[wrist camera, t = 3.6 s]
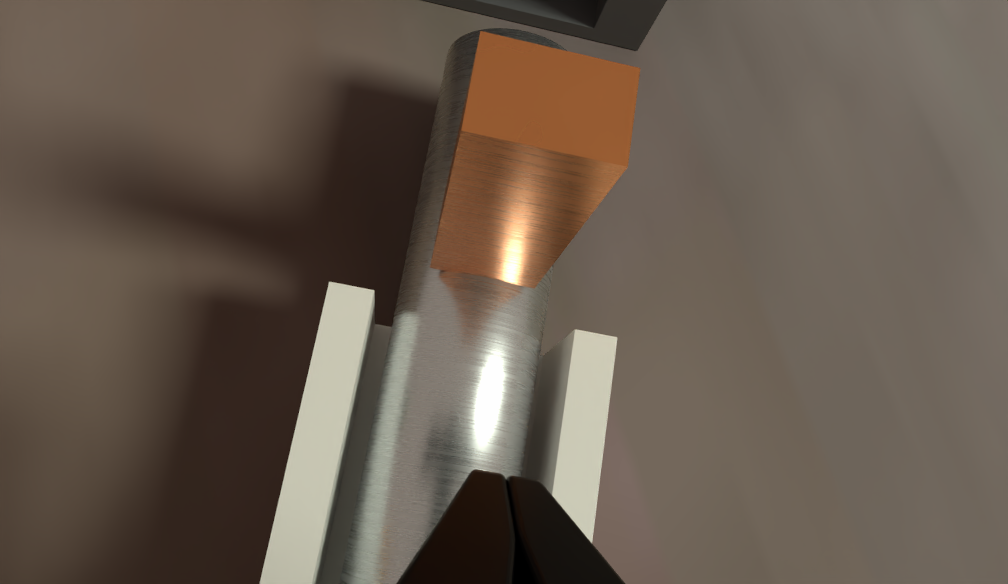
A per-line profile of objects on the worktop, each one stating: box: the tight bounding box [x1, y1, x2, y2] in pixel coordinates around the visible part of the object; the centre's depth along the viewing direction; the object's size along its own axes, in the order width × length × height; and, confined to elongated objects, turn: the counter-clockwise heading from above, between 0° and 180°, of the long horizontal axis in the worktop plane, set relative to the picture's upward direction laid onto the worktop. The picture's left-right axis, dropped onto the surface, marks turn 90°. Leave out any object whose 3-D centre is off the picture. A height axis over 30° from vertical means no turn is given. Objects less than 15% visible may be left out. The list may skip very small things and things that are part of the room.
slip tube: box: [339, 28, 640, 584], centre depth 15 cm, size 16×4×10 cm, turn 171°
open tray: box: [260, 282, 617, 584], centre depth 18 cm, size 10×7×4 cm, turn 171°
